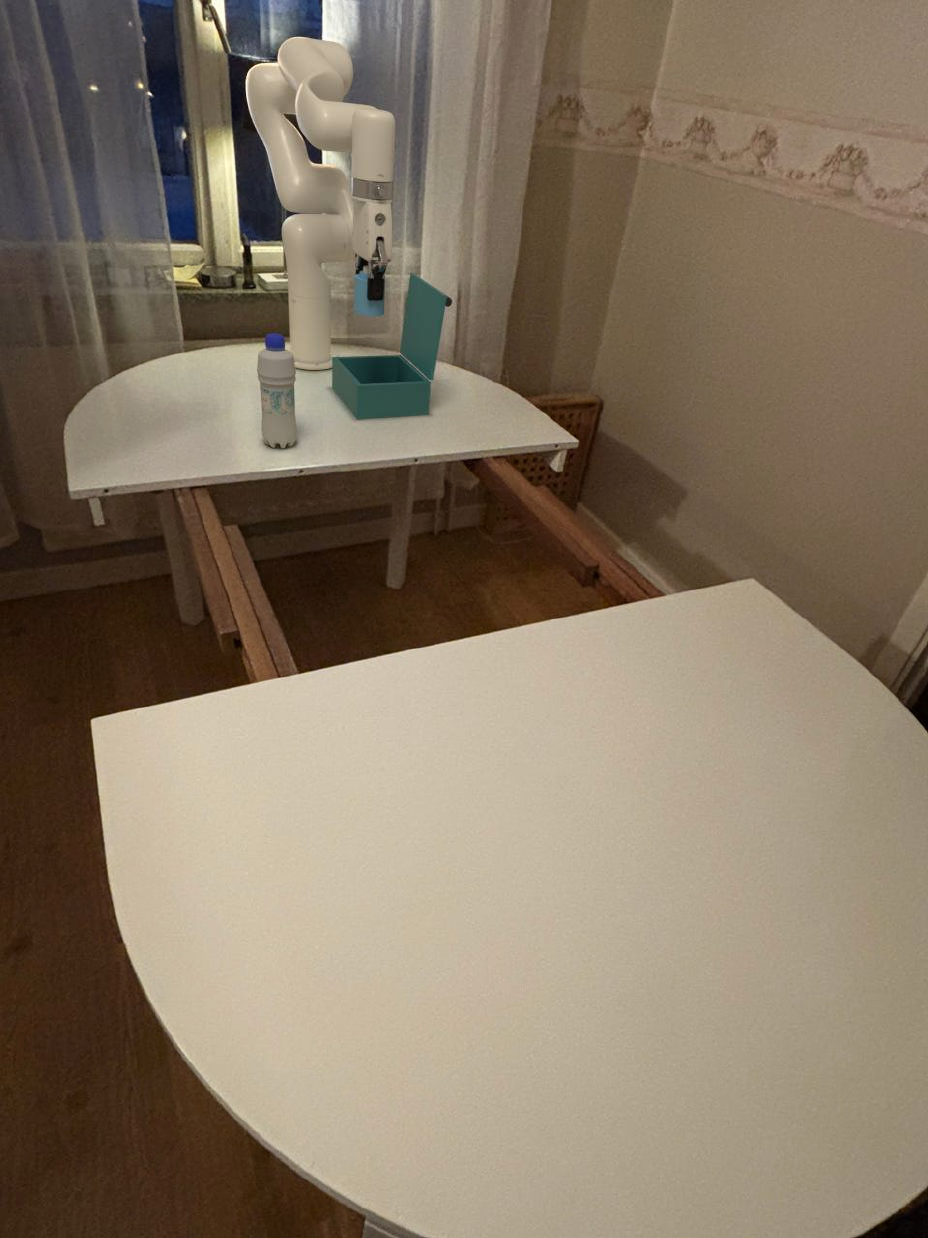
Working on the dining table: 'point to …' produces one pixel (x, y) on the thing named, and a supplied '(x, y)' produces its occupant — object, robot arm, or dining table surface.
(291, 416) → the bottle
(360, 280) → the water bottle
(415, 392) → the teal hollow box
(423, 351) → the lid
